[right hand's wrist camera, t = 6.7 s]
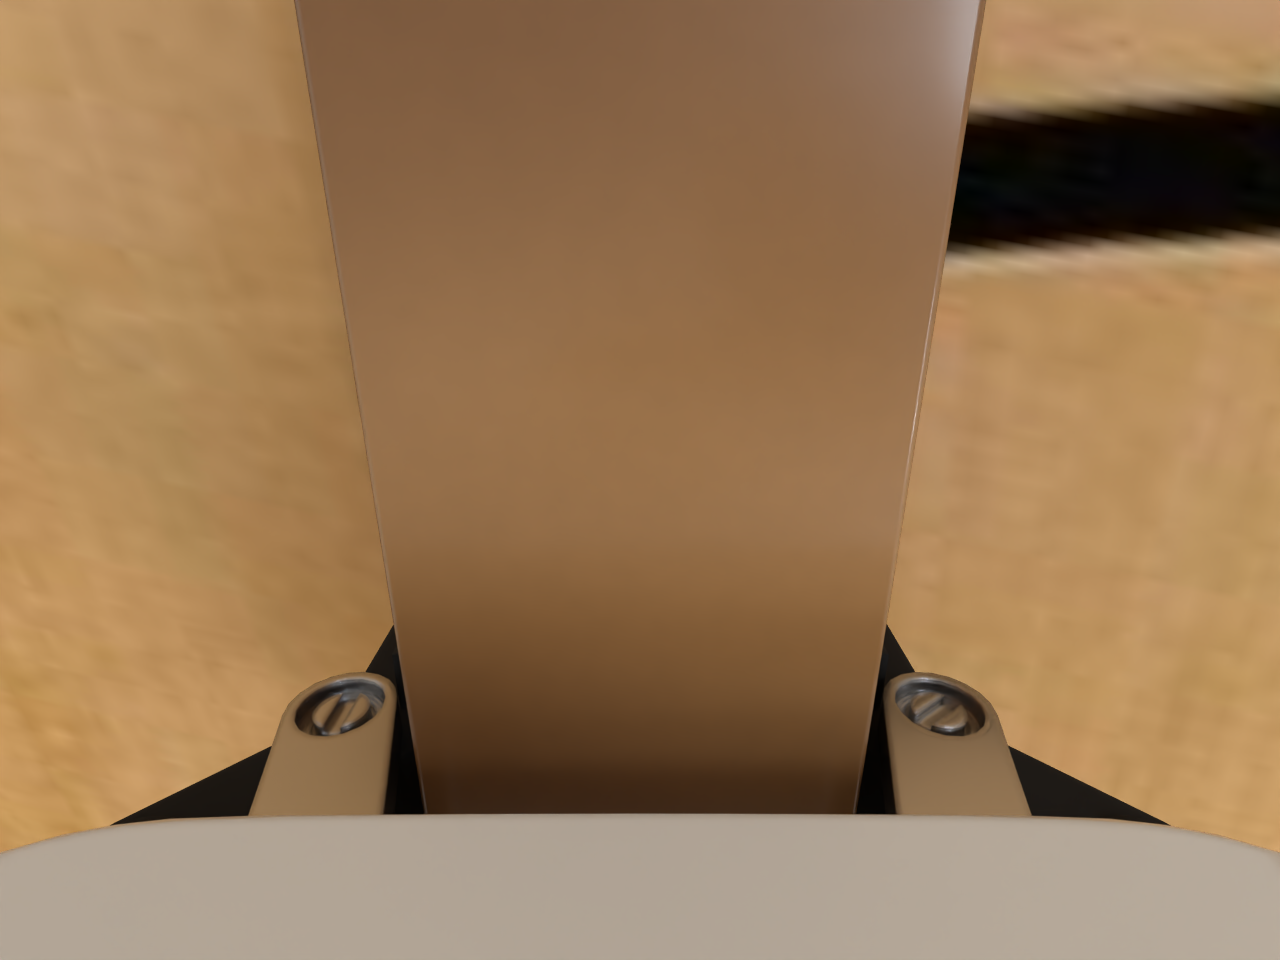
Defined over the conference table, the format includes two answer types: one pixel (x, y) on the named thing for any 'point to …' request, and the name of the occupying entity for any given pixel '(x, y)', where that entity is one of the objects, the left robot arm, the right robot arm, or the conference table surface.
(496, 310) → the beam
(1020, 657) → the conference table surface
